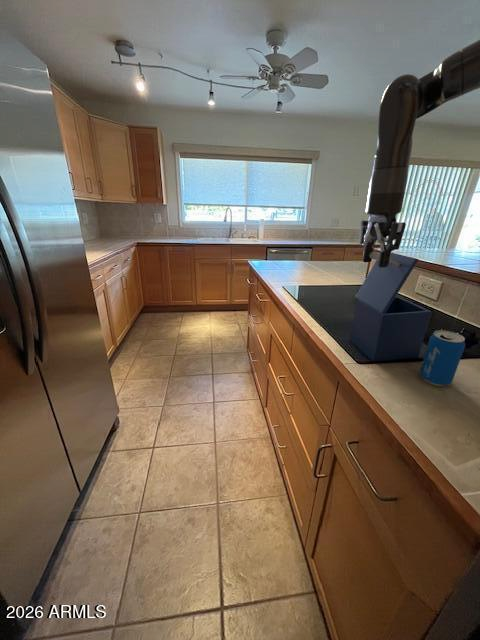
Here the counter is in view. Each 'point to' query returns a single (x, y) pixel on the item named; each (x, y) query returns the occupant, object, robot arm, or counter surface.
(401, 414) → the counter surface
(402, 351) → the box
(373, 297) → the lid
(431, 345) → the beverage can
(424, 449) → the counter surface
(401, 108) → the robot arm
